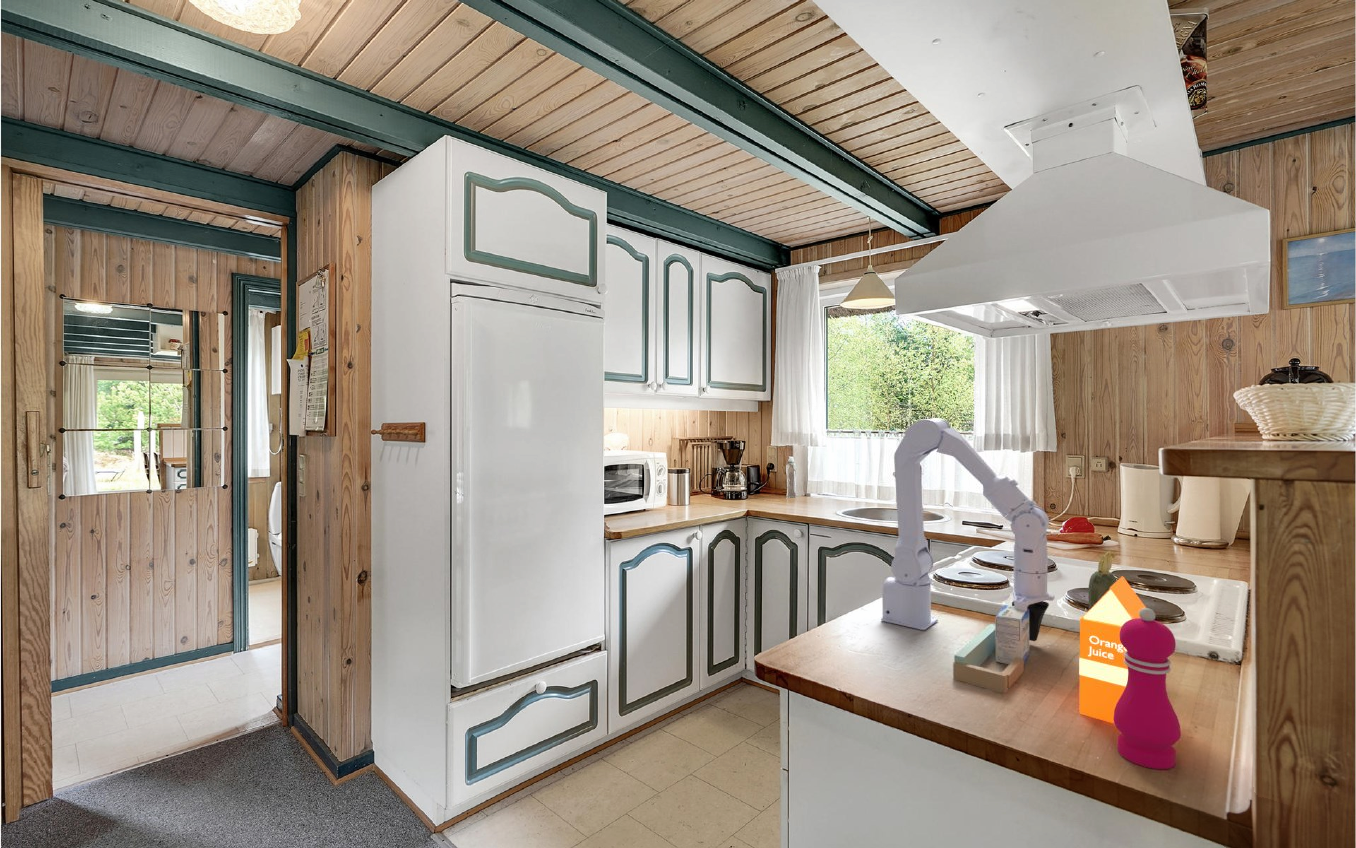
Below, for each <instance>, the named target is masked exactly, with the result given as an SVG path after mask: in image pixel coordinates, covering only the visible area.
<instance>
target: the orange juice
mask: <svg viewBox="0 0 1356 848" xmlns="http://www.w3.org/2000/svg"><path fill="white" fill-rule="evenodd" d="M1143 608H1147V607H1146V605H1145V604H1144V603H1143V602H1142V600H1141V599H1140V597H1139V596H1138V595H1137V594H1136V592H1135V591H1134V589H1133V587H1132V586H1130V584H1129V583H1128V581H1127V580H1126V579H1125V577H1124V576H1123V575H1122V576H1121V577H1120V578H1119V579H1117V582H1115V583H1114V584H1113V585H1112V586H1111V587H1110V590H1109V591H1108V592H1107V593H1106V594H1105V595H1104V596H1103V597H1102V598H1101V599H1100V600H1099V601H1098V602H1097V603H1096V604H1095V605H1094V606H1093V607H1092V608H1091V609H1090V610H1089V609H1088V611H1087V612H1086V613H1085V614H1084V615H1083V616H1081V617H1080V618H1079V662H1078V663H1079V664H1078V666H1079V672H1078V675H1079V710H1078V711H1079V714H1081V715H1084V716H1087V717H1090V718H1093V719H1097V720H1101V721H1104V722H1107V723H1111V724H1114V720H1113V717H1114V709H1115V707H1116V704H1117V702H1118V700H1119V698H1120V697H1121V695H1122V693H1123V691H1124V689H1125V687H1126V684H1127V680H1128V667H1127V665H1126V664H1125V663H1124V659H1125V657H1124V653H1125V652H1126V651H1127V650H1126V649H1125V647H1124V646H1123V645H1122V644H1121V642H1120V637H1119V634H1120V629H1121V627H1122V625H1123V624H1124V623H1125V622H1127V621H1128V620H1131V619H1134V618H1140V616H1139V611H1140V610H1141V609H1143Z"/></svg>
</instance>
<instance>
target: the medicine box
mask: <svg viewBox="0 0 1356 848" xmlns="http://www.w3.org/2000/svg"><path fill="white" fill-rule="evenodd" d="M994 625H995V645H996V650H995V661H996V662H997V663H1001V664H1004V665H1009V664H1010V663H1011V662H1012V661H1013V660H1014V659H1015V658H1016V657H1019V658H1023V659H1024V663H1025V662H1026V660H1027V658H1028V657H1029V654H1030V640H1029V609H1028V608H1027V611H1022V610H1016V609H1014V606H1012V605H1007V604H1005V605H1003V607H1002V608H1001V609H1000V611H998V613H997V614H996V616H995V620H994Z"/></svg>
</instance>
